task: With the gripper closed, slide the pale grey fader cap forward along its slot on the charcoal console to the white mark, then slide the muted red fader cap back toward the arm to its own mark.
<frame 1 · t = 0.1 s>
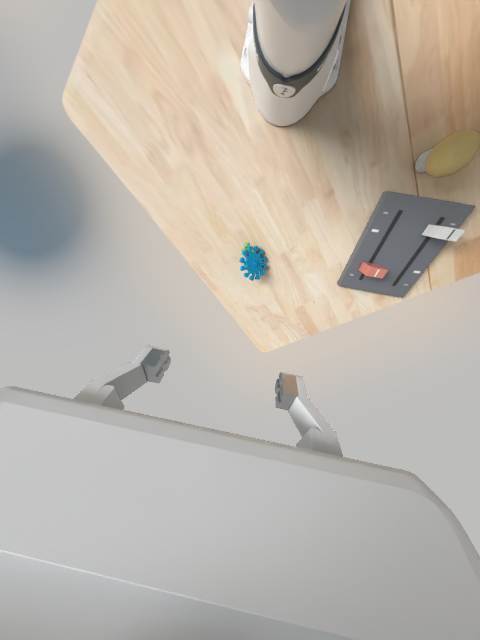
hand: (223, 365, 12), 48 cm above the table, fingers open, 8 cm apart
red fader: (372, 270, 47), point 5 cm above the table, slide at 13.0 cm
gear: (254, 258, 55), on the table
grey fader: (442, 232, 40), point 5 cm above the table, slide at 2.0 cm
light bulb: (422, 162, 38), on the table
console: (392, 250, 48), on the table
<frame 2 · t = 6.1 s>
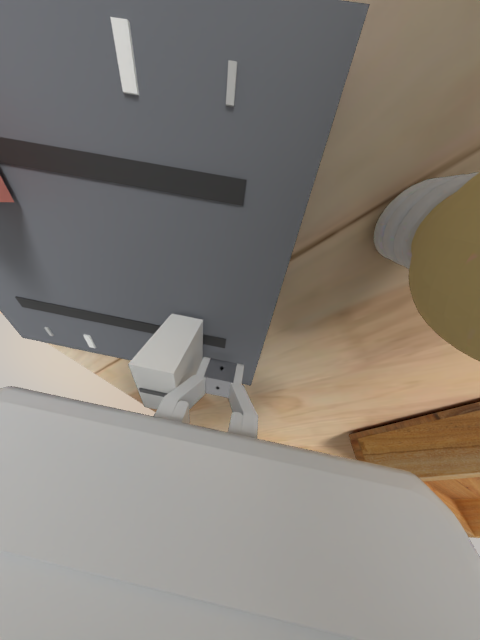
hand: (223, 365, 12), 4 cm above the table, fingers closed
grey fader: (175, 361, 12), point 5 cm above the table, slide at 2.0 cm, touching gripper
tray: (460, 455, 24), on the table
light bulb: (404, 222, 10), on the table
console: (121, 254, 13), on the table
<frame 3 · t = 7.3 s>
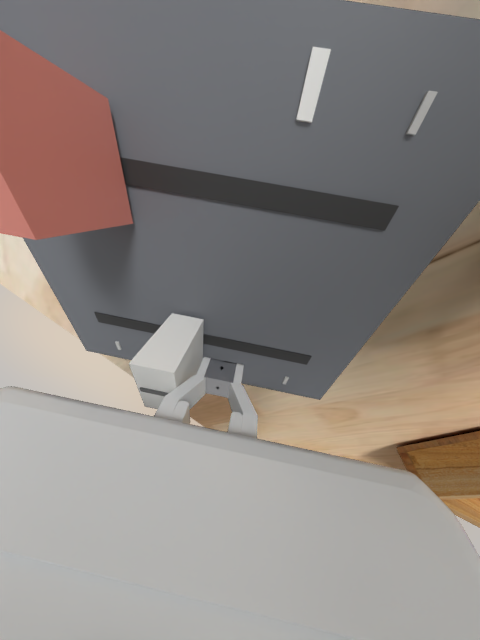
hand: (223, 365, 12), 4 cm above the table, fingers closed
red fader: (42, 155, 6), point 5 cm above the table, slide at 13.0 cm
grey fader: (175, 361, 12), point 5 cm above the table, slide at 8.9 cm, touching gripper
console: (210, 271, 13), on the table
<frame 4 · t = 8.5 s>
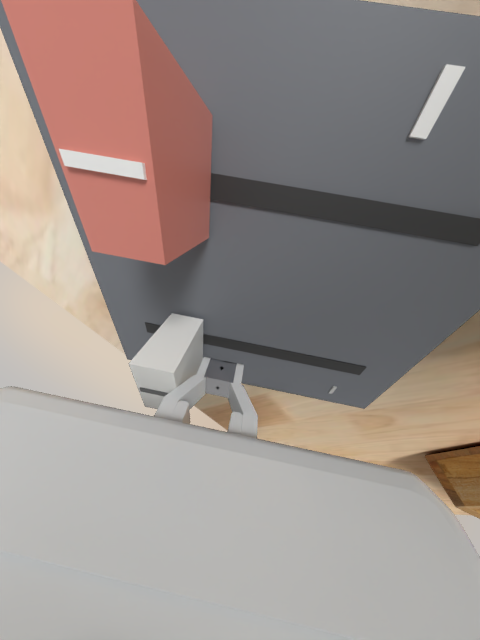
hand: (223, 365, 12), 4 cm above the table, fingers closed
red fader: (157, 176, 6), point 5 cm above the table, slide at 13.0 cm
grey fader: (175, 361, 12), point 5 cm above the table, slide at 13.3 cm, touching gripper
console: (266, 282, 13), on the table
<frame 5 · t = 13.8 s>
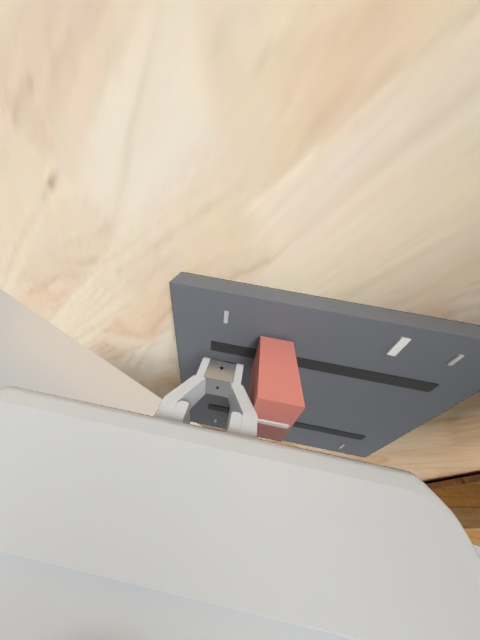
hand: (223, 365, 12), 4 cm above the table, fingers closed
red fader: (270, 386, 12), point 5 cm above the table, slide at 12.1 cm, touching gripper
grey fader: (235, 439, 17), point 5 cm above the table, slide at 13.3 cm
console: (296, 381, 18), on the table
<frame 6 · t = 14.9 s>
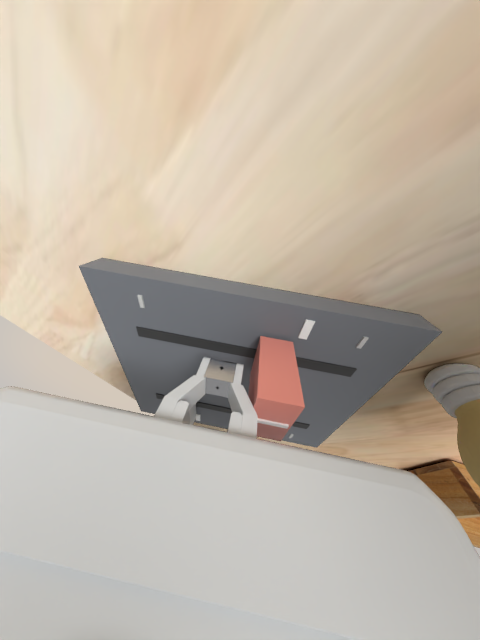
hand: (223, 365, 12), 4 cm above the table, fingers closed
red fader: (270, 385, 12), point 5 cm above the table, slide at 5.8 cm, touching gripper
grey fader: (176, 426, 18), point 5 cm above the table, slide at 13.3 cm
tray: (470, 488, 30), on the table
light bulb: (443, 371, 15), on the table
console: (238, 369, 18), on the table
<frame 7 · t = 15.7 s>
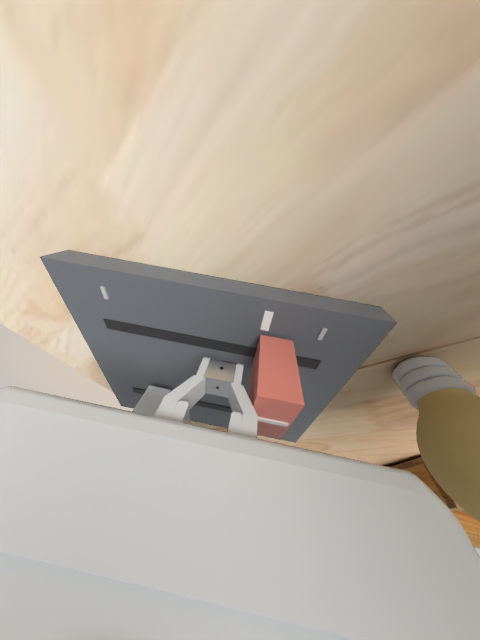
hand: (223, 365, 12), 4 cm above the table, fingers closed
red fader: (270, 384, 12), point 5 cm above the table, slide at 3.0 cm, touching gripper
grey fader: (150, 420, 18), point 5 cm above the table, slide at 13.3 cm
tray: (453, 485, 30), on the table
light bulb: (411, 364, 15), on the table
console: (213, 363, 19), on the table
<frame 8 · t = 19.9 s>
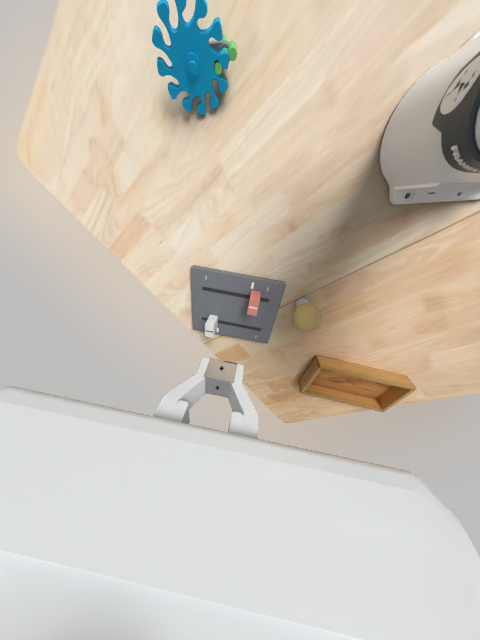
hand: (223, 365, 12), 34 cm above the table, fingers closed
red fader: (253, 303, 42), point 5 cm above the table, slide at 2.8 cm
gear: (205, 78, 26), on the table
grey fader: (211, 326, 49), point 5 cm above the table, slide at 13.3 cm
tray: (347, 376, 61), on the table
light bulb: (301, 302, 46), on the table
console: (234, 306, 49), on the table
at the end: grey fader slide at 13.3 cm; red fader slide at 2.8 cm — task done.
